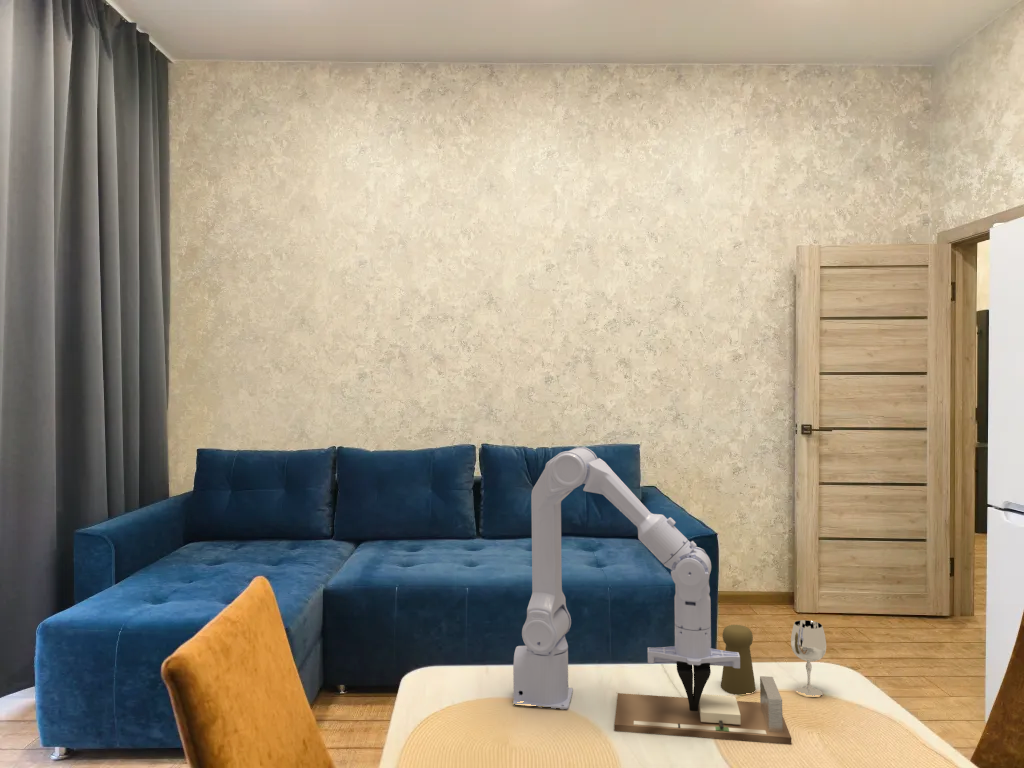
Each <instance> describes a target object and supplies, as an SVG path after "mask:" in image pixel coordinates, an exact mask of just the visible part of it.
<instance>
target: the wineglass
mask: <svg viewBox="0 0 1024 768" xmlns="http://www.w3.org/2000/svg"><path fill="white" fill-rule="evenodd" d="M792 625H793V626H792V629H791V637H790V646H791V650H792V652H793V653H794V656H796V657H798V658H799V659H800V660H802V661H806V663H805V669H806V673H807V674H806V675H807V684H806V686H799V687H797V688H795V692H796V691H798V692H801V693H805V694H806V695H812V696H813V695H814V696H815V695H822V696H823V692H822V690H820V689H818V688H815V687H812V684H811V672H812V670H813V669H812V662H817V661H819V660H822V658H823V657H824V656H825V655H826V651H827V640H826V634H825V630H824V627H823V624H822V623H820V622H819V621H818V622H817V621H813V620H806V619H802V620H801V619H799V620H796V621H794V622H793V624H792Z"/></svg>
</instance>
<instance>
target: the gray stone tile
mask: <svg viewBox="0 0 1024 768" xmlns="http://www.w3.org/2000/svg"><path fill="white" fill-rule="evenodd" d="M759 682H760V683H759V689H760V690H759V691H760V692H759V693H760V694H759V697H760V698H759V700H760V706H761V709H762V712H763V715H764V718H765V721H766V724H767V727H768V730H769V732H783V722H782V715H783V698H782V696H781V693H780V691H779V688H778V686H777V684H776V682H775V679H774V677H773V676H766V675H765V676H763V675H760V676H759Z"/></svg>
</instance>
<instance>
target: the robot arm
mask: <svg viewBox="0 0 1024 768" xmlns="http://www.w3.org/2000/svg"><path fill="white" fill-rule="evenodd" d="M582 485H584V487H583V489H582V490H583V492H588V493H593V494H599V495H603V497H605V498H606V500H608V501H609V502H610V503H611V504H612V505H613V506H614V507H615V508H616V509H617V510H619V512H620V513H622V514H623V516H625V517H626V518H627V519H628V520H629V521H630V522H631V523H632V524H633V525H634V526H635V527H636V528H637V538H638V540H639V541H640V542H641V543H642V545H644V546H645V547H646V548H647V549H648V550H649V551H650V552H651V553H652V555H654V556H655V558H656V559H657V560H659V562H660V563H661V564H662V565H663V566H664V567H666V568H668V570H669V569H670V575H671V579H672V581H673V583H674V585H675V588H674V589H675V594H674V645H673V646H672V645H671V646H662V647H661V646H658V647H647V663H648V664H655V663H668V664H676V672H677V674H678V676H679V678H680V681H681V683H682V685H683V688H684V691H685V693H686V696H687V697H686V698H688V701H689V709H690V711H698V707H699V702H700V698H701V694H703V691H704V688H705V686H706V684H707V682H708V681H709V679H710V676H711V673H712V672H711V671H712V670H711V666H718V667H723V666H733V668H740V655H739V653H738V652H730V651H725V650H721V649H716V648H712V619H711V618H712V617H711V616H712V615H711V614H712V611H711V607H712V606H711V605H712V603H711V596H710V592H711V587H710V574H711V571H712V562H711V559H710V556H709V555H708V554H707V552H706V551H705V549H704V548H701V547H698V546H697V543H695V541H694V540H691V541H690V540H688V538H687V537H686V536H685V535H684V534H683V533H682V532H681V531H680V530H679V529H678V528H677V527H676V526H675V525H676V523H677V521H675V519H673V518H672V517H668V518H667V517H666V516H665V515H664V514H659V513H652V512H651V511H649V509H648V508H647V507H646V505H644V503H642V502H641V500H640V499H639V498H638V497H637V496H636V495H635V493H633V492H632V490H631V489H630V488H629V487H628V486H627V485H626V484H625V483H624V482H623V481H622V480H621V478H620V477H619V476H618V475H617V474H616V473H615V472H614V471H613V470H612V468H611V467H610V466H609V465H608V464H607V462H606V461H604V460H603V459H601V458H600V457H598V456H597V454H596V453H595V452H594V451H592V449H589V448H588V447H585V446H578V447H577V446H576V447H574V448H572V449H570V450H565V451H562V452H559V453H558V454H557V455H555V456H553V458H551V459H549V460H548V461H547V462H546V463H545V467H544V469H543V471H542V472H541V474H540V476H539V478H538V480H537V481H536V483H535V485H534V486H533V488H532V489H531V499H530V500H531V501H530V502H531V503H530V505H531V508H530V509H531V574H532V575H531V578H532V579H531V582H532V584H531V585H532V586H531V589H532V590H531V591H532V593H531V597H530V600H529V602H528V606H527V608H526V619H525V622H524V624H523V625H522V629H521V636H522V637H521V638H522V640H523V643H524V645H518V646H516V647H515V650H514V655H513V665H512V667H513V673H512V674H513V676H512V677H513V678H512V679H513V680H512V681H513V701H512V704H513V703H514V704H531V705H536V706H544V707H551V708H550V709H556V708H560V710H568V709H569V707H570V703H571V699H572V695H573V692H574V689H573V687H569V645H568V644H569V643H568V642H567V639H566V634H568V632H570V628H571V625H572V619H571V614H570V612H569V610H568V608H567V602H566V601H567V600H566V596H565V594H564V591H563V587H562V586H563V583H562V582H563V581H562V571H563V570H562V569H563V567H562V501H563V500H564V499H565V498H566V497H567V496H568V495H570V493H572V492H573V491H574V490H575V489H576V488H578V487H580V486H582ZM520 701H524V702H523V703H517V702H520Z"/></svg>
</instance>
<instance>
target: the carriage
mask: <svg viewBox="0 0 1024 768" xmlns="http://www.w3.org/2000/svg"><path fill="white" fill-rule="evenodd" d="M736 697H737V696H736V695H735V696H733V695H720V694H719V695H718V694H706V693H702V694H701V698H700V702H699V712H700V718H701V722H711V723H719V725H720V728H723V729H724V726H723V723H725V724H739V725H741V719H740V711H739V708H738V704H737V701H738V700H737V698H736Z"/></svg>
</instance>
